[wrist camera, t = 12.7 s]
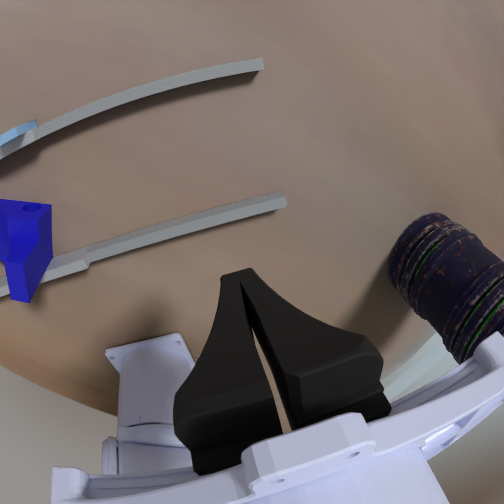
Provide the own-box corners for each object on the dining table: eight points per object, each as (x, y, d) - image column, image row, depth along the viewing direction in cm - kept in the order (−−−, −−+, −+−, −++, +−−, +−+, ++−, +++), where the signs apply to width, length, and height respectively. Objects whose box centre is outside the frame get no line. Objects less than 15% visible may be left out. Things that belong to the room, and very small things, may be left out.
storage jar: (411, 302, 34) (484, 392, 21) (370, 269, 29) (464, 382, 17) (462, 240, 31) (549, 315, 18) (433, 192, 26) (550, 276, 14)
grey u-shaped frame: (281, 200, 23) (290, 211, 22) (-26, 295, 20) (-34, 308, 19) (257, 59, 18) (265, 56, 16) (-74, 199, 15) (-86, 208, 13)
